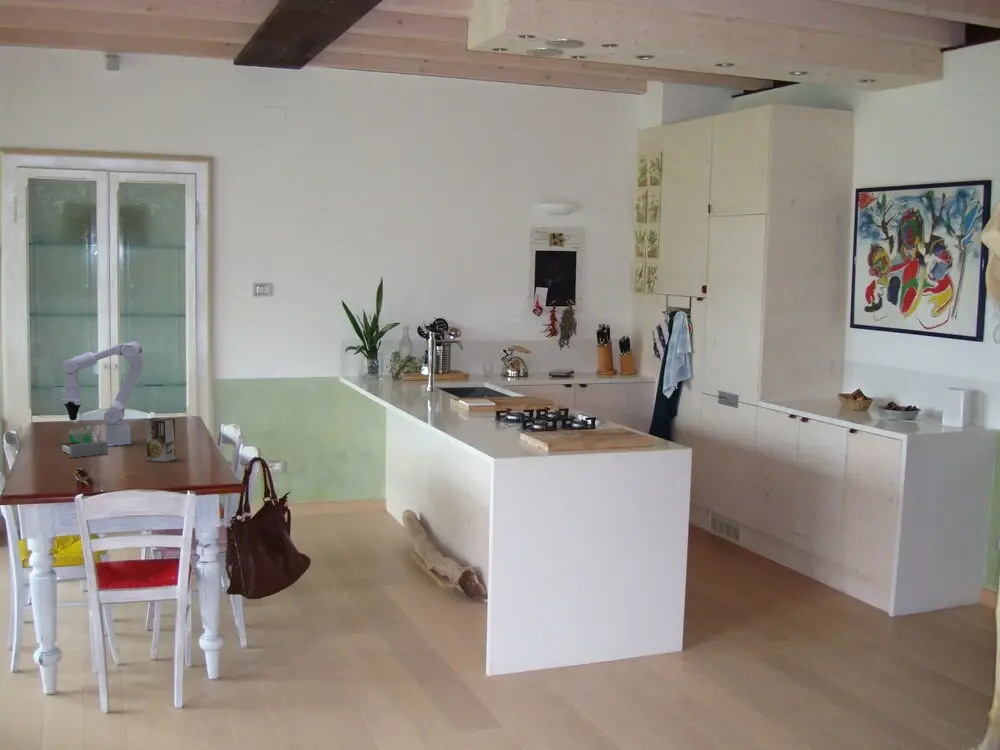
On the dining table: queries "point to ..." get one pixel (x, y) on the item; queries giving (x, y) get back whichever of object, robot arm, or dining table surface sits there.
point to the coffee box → (160, 439)
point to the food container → (81, 435)
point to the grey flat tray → (86, 449)
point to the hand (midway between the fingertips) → (73, 420)
